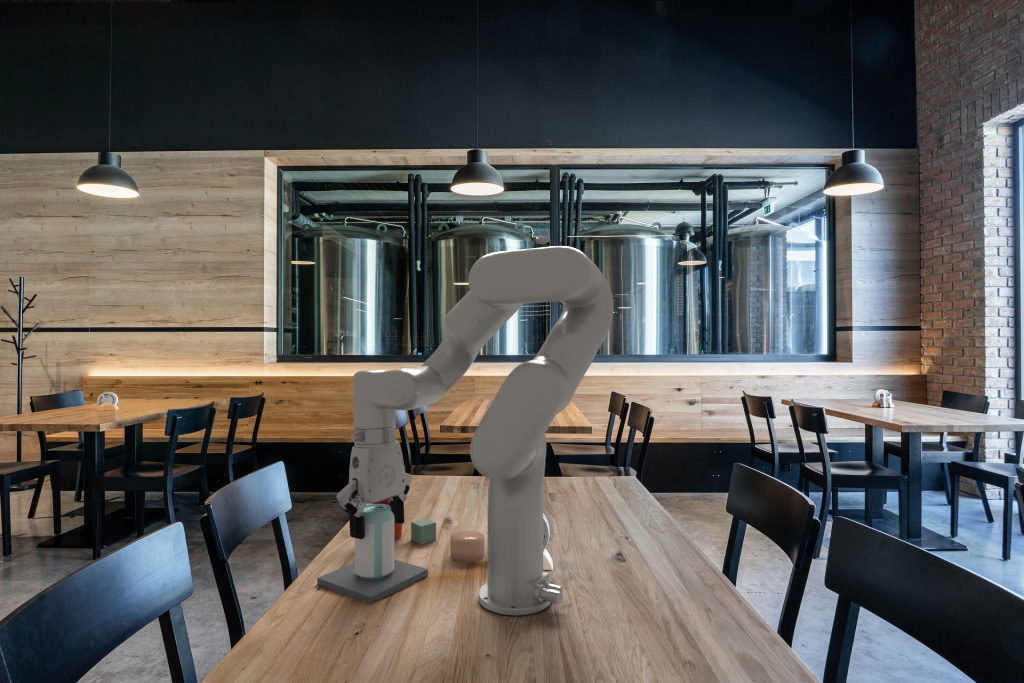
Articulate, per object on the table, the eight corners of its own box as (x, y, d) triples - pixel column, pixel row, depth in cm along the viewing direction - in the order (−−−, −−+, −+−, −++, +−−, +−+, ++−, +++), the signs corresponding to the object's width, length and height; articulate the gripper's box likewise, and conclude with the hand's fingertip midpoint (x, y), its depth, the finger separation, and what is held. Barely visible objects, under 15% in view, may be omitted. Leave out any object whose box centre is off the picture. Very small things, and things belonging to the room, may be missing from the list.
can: (352, 569, 104) (352, 504, 104) (390, 563, 106) (390, 501, 107) (357, 583, 97) (357, 515, 97) (397, 577, 100) (397, 510, 100)
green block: (436, 540, 123) (436, 522, 123) (420, 544, 120) (420, 526, 120) (426, 536, 126) (426, 518, 126) (411, 539, 123) (411, 522, 123)
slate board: (427, 575, 104) (427, 569, 104) (370, 604, 92) (370, 597, 92) (375, 559, 112) (375, 553, 112) (317, 584, 100) (317, 577, 100)
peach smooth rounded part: (491, 554, 115) (491, 535, 115) (470, 565, 109) (470, 545, 109) (464, 547, 119) (464, 529, 119) (443, 558, 113) (443, 538, 113)
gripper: (351, 445, 93) (354, 547, 92) (422, 431, 107) (425, 520, 107) (323, 442, 97) (325, 540, 97) (394, 429, 111) (397, 514, 111)
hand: (378, 529), depth 102 cm, fingers open, 9 cm apart
